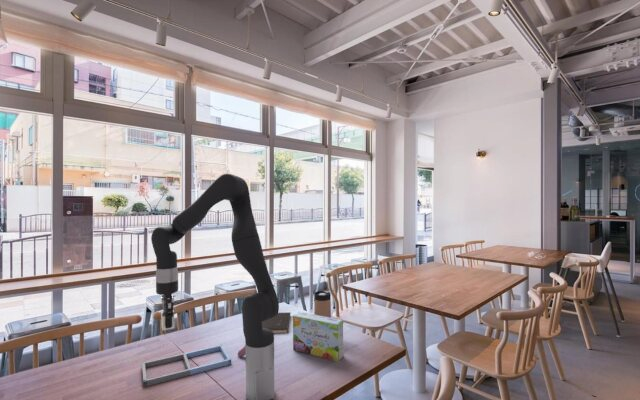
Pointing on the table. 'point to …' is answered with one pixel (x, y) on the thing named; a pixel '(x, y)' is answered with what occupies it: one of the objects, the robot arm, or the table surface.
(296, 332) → the snack box
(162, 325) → the grey rectangular block
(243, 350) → the video game controller
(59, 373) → the table surface
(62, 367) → the table surface
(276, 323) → the hardcover book
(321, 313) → the travel mug
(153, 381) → the two-cell open frame
